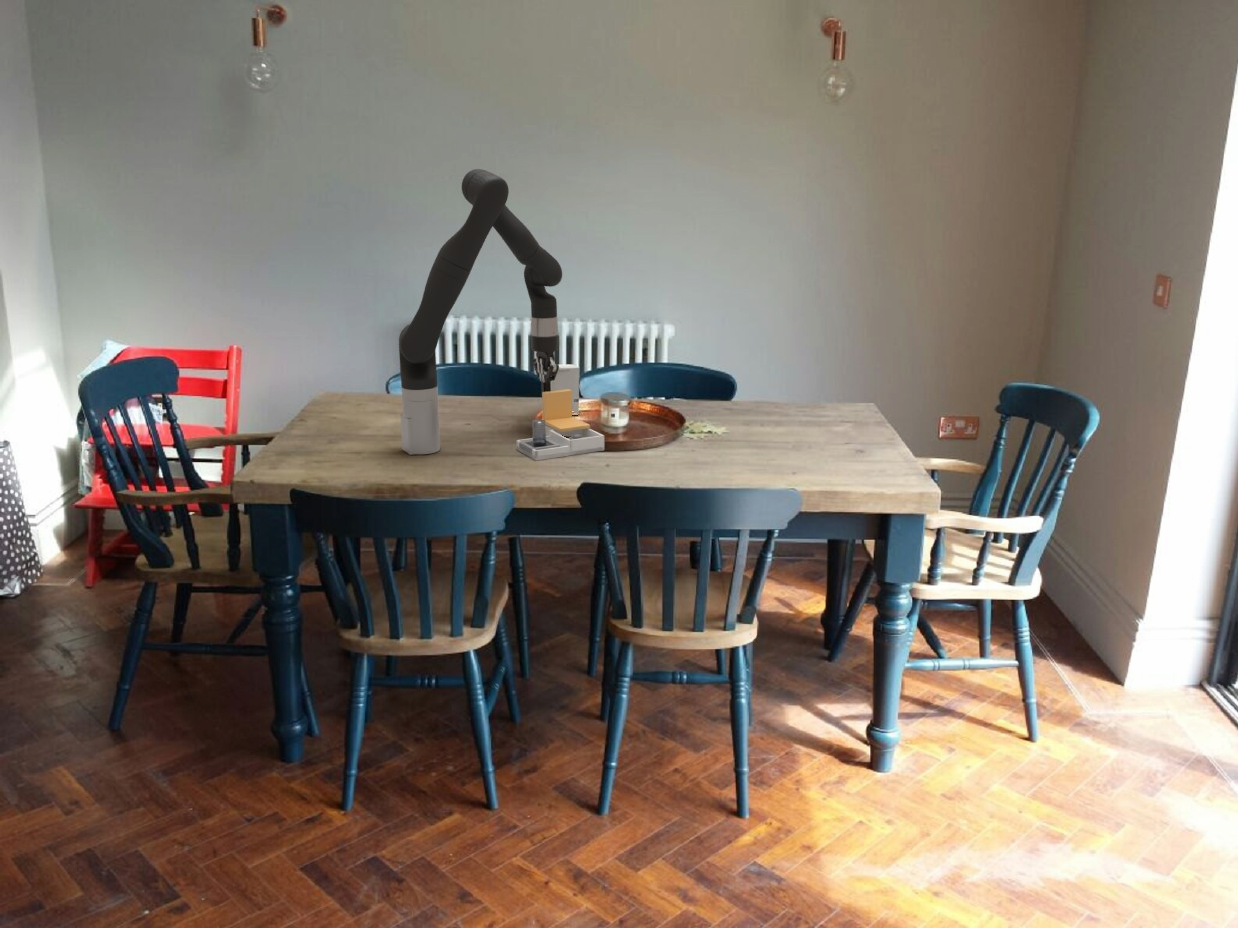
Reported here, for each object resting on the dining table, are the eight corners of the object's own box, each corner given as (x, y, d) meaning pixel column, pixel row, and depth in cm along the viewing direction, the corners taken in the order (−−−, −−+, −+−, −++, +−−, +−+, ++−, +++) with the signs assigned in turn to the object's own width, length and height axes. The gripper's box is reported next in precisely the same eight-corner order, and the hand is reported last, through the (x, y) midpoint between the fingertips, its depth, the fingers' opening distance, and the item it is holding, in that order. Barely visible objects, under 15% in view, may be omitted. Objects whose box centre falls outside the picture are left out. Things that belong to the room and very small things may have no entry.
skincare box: (552, 418, 332) (551, 368, 328) (547, 413, 338) (546, 364, 334) (580, 416, 335) (579, 366, 330) (574, 411, 340) (574, 362, 336)
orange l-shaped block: (560, 431, 300) (560, 401, 298) (541, 422, 310) (540, 392, 308) (590, 427, 304) (590, 397, 302) (570, 418, 315) (569, 389, 312)
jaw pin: (549, 449, 295) (549, 421, 293) (535, 451, 294) (535, 423, 292) (543, 446, 299) (542, 418, 297) (529, 448, 297) (528, 420, 295)
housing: (535, 460, 290) (535, 445, 289) (504, 442, 306) (503, 428, 305) (604, 450, 299) (604, 435, 298) (570, 433, 316) (570, 419, 315)
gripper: (567, 335, 307) (568, 397, 312) (546, 328, 318) (548, 388, 323) (542, 338, 304) (544, 401, 309) (522, 330, 315) (524, 391, 320)
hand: (546, 394), depth 316 cm, fingers closed
